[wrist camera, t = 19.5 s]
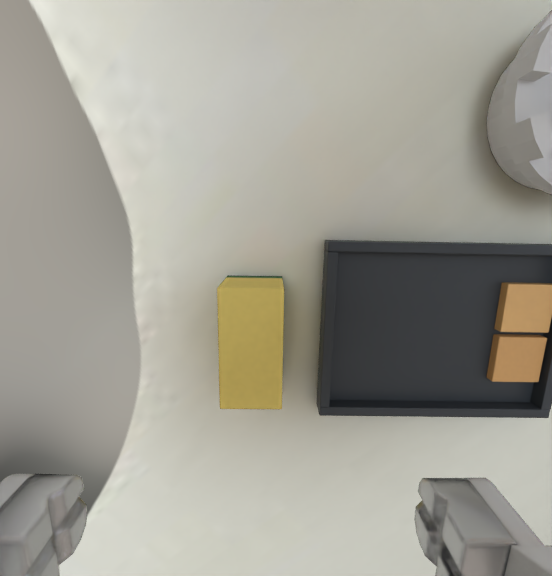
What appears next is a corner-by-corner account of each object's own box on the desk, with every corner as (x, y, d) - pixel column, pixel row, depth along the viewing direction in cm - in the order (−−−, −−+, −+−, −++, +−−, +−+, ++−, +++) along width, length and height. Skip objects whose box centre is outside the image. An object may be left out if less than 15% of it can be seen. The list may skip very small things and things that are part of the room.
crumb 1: (501, 282, 26) (508, 283, 25) (549, 282, 26) (558, 284, 25) (493, 329, 26) (500, 332, 26) (540, 329, 27) (548, 332, 26)
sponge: (227, 275, 26) (216, 287, 21) (282, 276, 26) (284, 288, 21) (228, 376, 28) (219, 409, 23) (280, 376, 28) (281, 409, 23)
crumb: (492, 333, 27) (499, 337, 26) (539, 334, 27) (548, 337, 26) (485, 377, 27) (492, 382, 27) (531, 378, 27) (538, 382, 27)
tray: (324, 239, 25) (328, 241, 24) (563, 244, 26) (585, 246, 24) (316, 403, 28) (319, 415, 27) (531, 406, 29) (548, 418, 27)
